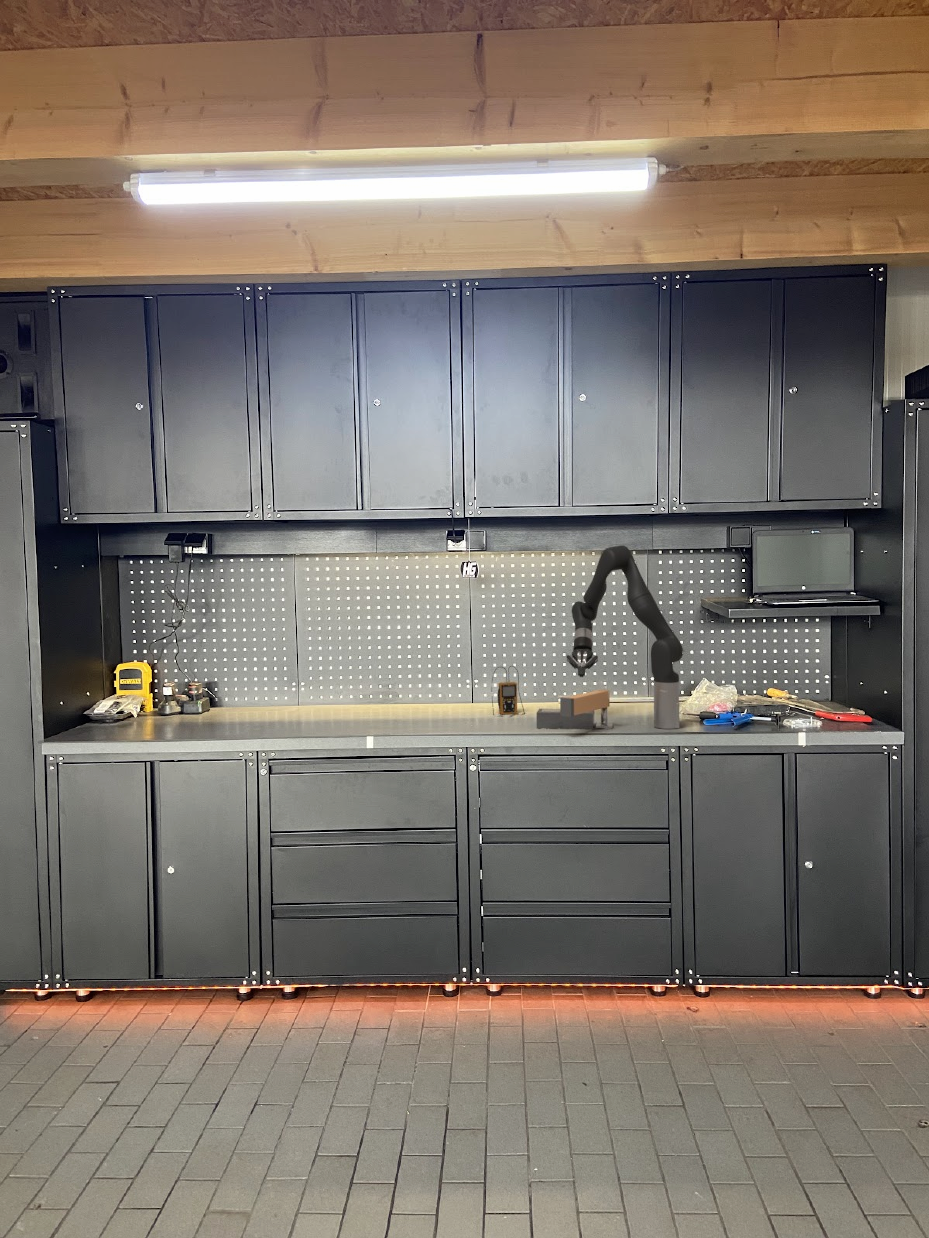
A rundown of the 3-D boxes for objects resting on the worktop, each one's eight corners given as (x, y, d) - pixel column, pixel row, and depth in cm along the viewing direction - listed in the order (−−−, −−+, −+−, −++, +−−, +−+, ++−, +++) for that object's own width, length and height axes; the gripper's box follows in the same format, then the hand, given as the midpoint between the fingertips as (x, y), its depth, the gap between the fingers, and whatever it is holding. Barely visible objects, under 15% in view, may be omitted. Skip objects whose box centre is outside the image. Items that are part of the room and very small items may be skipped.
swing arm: (601, 705, 349) (601, 688, 348) (611, 706, 346) (611, 689, 345) (560, 715, 326) (560, 697, 326) (570, 716, 323) (570, 698, 323)
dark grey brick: (594, 724, 352) (594, 708, 351) (592, 729, 342) (592, 712, 342) (539, 723, 356) (539, 708, 355) (536, 728, 346) (536, 712, 346)
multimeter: (497, 718, 371) (497, 668, 370) (490, 714, 381) (489, 666, 380) (531, 716, 375) (531, 667, 374) (523, 712, 385) (523, 665, 384)
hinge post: (612, 726, 348) (612, 705, 348) (612, 728, 343) (612, 708, 342) (596, 725, 350) (596, 705, 349) (595, 728, 344) (595, 707, 343)
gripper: (566, 635, 368) (563, 669, 357) (599, 635, 365) (598, 670, 354) (567, 647, 373) (564, 681, 362) (599, 647, 371) (598, 681, 360)
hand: (581, 675), depth 358 cm, fingers closed
